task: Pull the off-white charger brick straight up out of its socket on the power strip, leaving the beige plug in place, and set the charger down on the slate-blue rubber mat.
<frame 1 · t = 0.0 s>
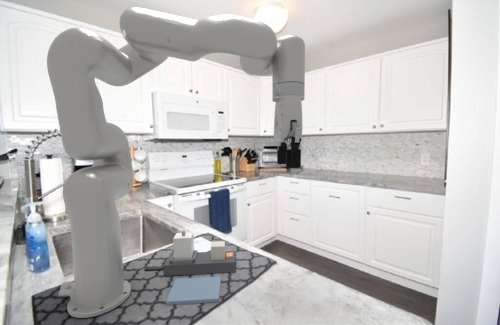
hand: (287, 165, 55), 31 cm above the table, tool pointing down, fingers open, 9 cm apart
charger: (184, 258, 67), point 3 cm above the table, touching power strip
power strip: (201, 267, 68), on the table
external hard drive: (201, 249, 81), on the table
mat: (195, 290, 57), on the table
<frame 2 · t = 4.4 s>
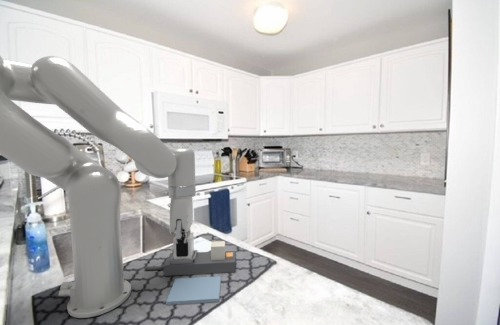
hand: (184, 251, 67), 5 cm above the table, tool pointing down, fingers closed on charger, 3 cm apart
charger: (184, 258, 67), point 3 cm above the table, touching gripper, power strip
everything else where it was.
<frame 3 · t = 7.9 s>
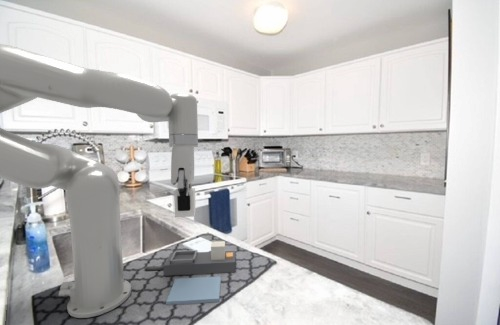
hand: (185, 207, 63), 19 cm above the table, tool pointing down, fingers closed on charger, 4 cm apart
charger: (185, 214, 63), point 17 cm above the table, touching gripper
everything else where it was.
when the fingers open (5 cm above the table, at t = 11.5 s): charger drops 2 cm, resting on mat.
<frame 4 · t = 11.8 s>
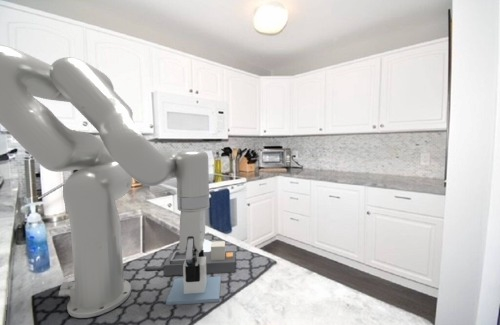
hand: (195, 271, 56), 5 cm above the table, tool pointing down, fingers open, 6 cm apart
charger: (195, 288, 57), point 1 cm above the table, touching mat
everything else where it was.
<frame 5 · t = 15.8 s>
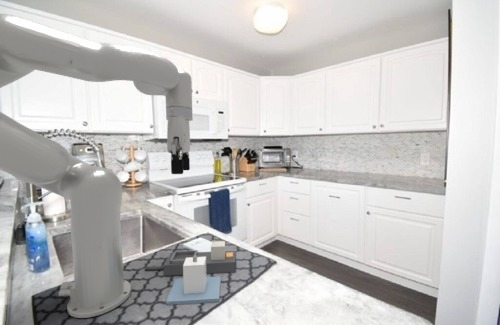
hand: (181, 171, 69), 28 cm above the table, tool pointing down, fingers open, 9 cm apart
nothing on the table moved.
at the end: charger inside the target area on the mat (0.1 cm from its centre), point 0.8 cm above the mat's base; charger tilted 0°; the gripper is holding nothing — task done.
